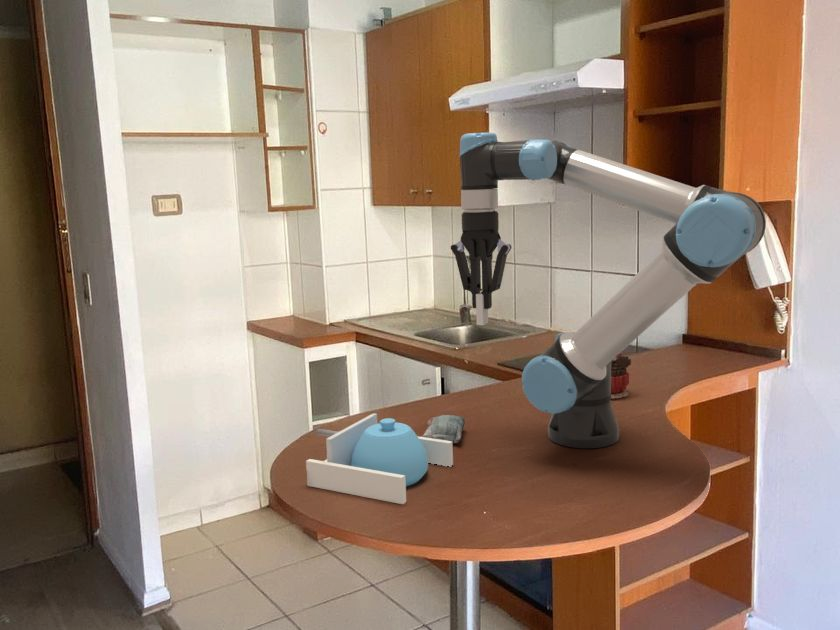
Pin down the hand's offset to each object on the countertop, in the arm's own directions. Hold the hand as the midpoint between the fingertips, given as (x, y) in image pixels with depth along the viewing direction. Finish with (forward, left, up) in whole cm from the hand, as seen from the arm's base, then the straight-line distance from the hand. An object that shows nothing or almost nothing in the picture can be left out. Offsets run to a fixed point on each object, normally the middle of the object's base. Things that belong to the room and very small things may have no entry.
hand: (482, 323), depth 162 cm
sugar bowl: (+10, +24, -27) cm, 37 cm away
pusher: (+22, +24, -26) cm, 42 cm away
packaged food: (+10, 0, -27) cm, 29 cm away
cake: (-15, -45, -27) cm, 54 cm away
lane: (+12, +24, -26) cm, 37 cm away
